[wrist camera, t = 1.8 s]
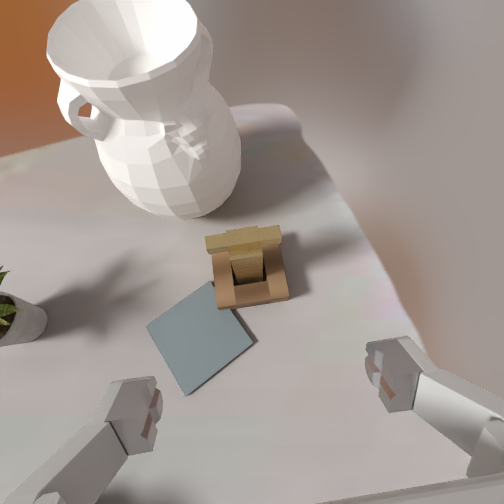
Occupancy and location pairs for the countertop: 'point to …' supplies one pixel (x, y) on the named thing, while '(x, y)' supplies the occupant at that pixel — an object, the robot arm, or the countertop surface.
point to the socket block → (254, 292)
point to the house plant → (19, 319)
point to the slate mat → (198, 338)
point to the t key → (245, 250)
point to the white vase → (148, 102)
